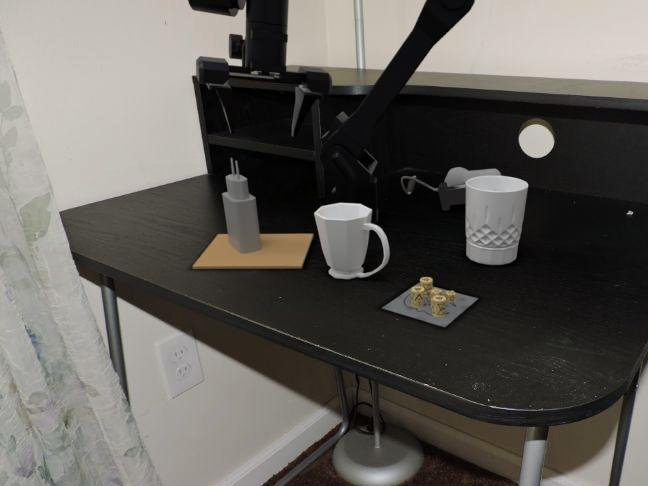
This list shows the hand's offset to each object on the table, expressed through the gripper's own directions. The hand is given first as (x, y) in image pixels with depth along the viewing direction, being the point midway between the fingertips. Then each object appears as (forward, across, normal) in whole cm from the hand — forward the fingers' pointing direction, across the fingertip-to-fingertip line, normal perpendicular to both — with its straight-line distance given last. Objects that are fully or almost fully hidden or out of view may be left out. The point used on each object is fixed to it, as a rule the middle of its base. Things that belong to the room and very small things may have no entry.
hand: (263, 135), depth 87 cm
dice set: (+9, -12, +39) cm, 42 cm away
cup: (+10, -7, +28) cm, 31 cm away
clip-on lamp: (+9, -31, +3) cm, 33 cm away
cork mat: (+12, +3, +16) cm, 20 cm away
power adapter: (+12, +5, +14) cm, 19 cm away
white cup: (+8, -26, +29) cm, 40 cm away
